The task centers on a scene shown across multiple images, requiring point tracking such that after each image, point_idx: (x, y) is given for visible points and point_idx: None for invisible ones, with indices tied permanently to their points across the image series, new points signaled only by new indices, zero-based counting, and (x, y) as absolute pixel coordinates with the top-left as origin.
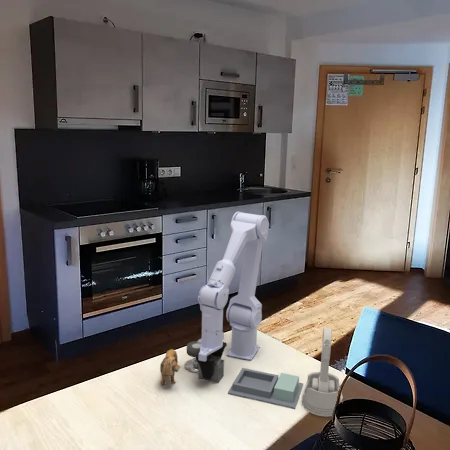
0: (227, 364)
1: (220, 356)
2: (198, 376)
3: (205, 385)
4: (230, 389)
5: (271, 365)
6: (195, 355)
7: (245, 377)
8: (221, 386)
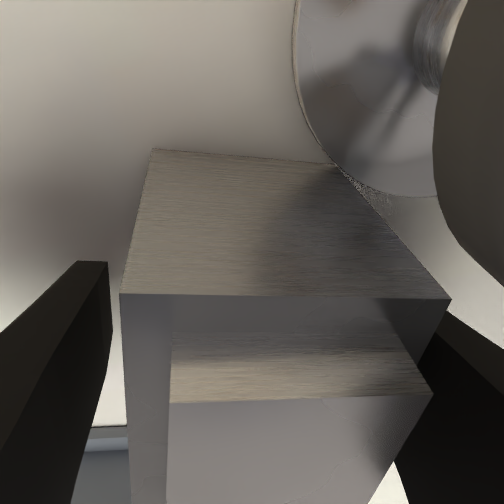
0: (475, 321)
1: (407, 490)
2: (149, 163)
3: (56, 261)
4: None
5: None
6: (465, 122)
7: None
8: (115, 373)
